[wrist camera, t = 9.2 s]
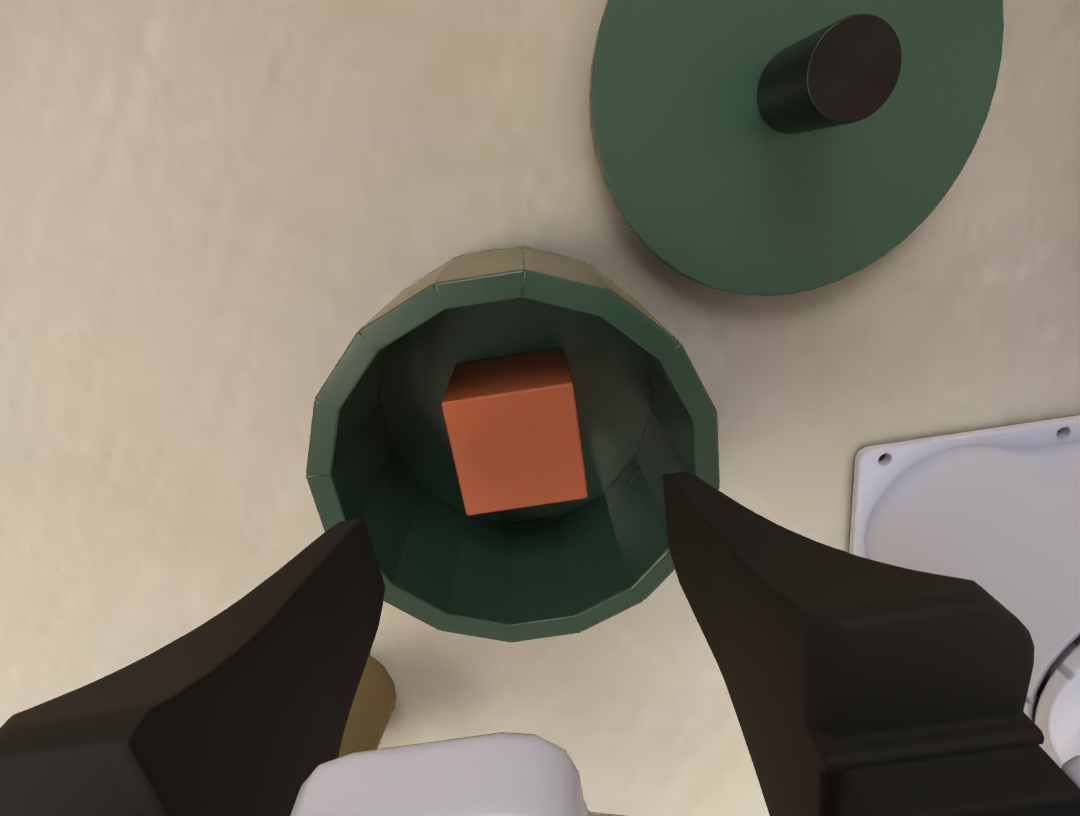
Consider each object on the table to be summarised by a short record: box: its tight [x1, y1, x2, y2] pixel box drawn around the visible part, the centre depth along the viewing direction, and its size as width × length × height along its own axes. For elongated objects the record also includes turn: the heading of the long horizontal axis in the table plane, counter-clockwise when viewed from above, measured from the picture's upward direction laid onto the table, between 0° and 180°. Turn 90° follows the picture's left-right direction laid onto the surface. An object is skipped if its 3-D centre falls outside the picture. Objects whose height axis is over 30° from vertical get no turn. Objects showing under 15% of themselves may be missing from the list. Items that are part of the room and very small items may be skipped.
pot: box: [306, 246, 720, 642], centre depth 19 cm, size 11×11×6 cm
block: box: [441, 348, 588, 515], centre depth 19 cm, size 4×4×4 cm
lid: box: [589, 0, 1004, 296], centre depth 16 cm, size 12×12×4 cm
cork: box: [338, 656, 396, 758], centre depth 21 cm, size 6×6×11 cm
